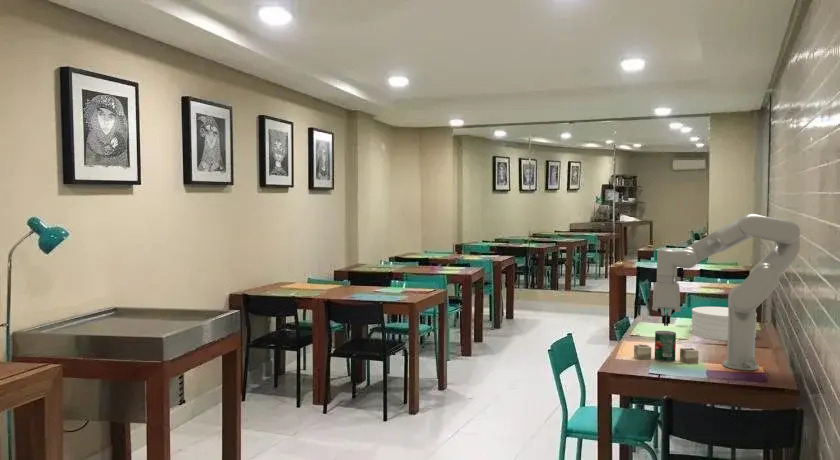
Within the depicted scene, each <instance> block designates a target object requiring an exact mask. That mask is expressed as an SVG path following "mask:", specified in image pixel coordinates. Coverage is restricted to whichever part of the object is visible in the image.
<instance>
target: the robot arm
mask: <svg viewBox="0 0 840 460" xmlns="http://www.w3.org/2000/svg"><path fill="white" fill-rule="evenodd" d="M800 235H801V228H800V226H799V224H797V223H796V222H795V221H792V220H788V219H781V218H778V217H777V218H775V217H771V216H764V215H761V214H757V213H747V214H745V215H743V216H741V217H738V218H737V219H734V220H733V221H731V222H729V223H728V224H726V225H724V226H723V227H720V228H718V229H717V230H715V231H713V232H711V233H710V234H708V235H707V236H705V237H703V238H701V239H699V240H696V241H695V242H693V243H692V244H689V245H688V246H686V247H685V248H682V249H675V248H659V249H658V250H657V252H656V254H657V256H656V282H654V285H653V292H652V293H653V294H652V311H656V312H658V313H659V314H660V316H661V324H663V326H664V327H665V326H667V327H669V324H671V316H672V315H673V314H674V313H677V312H681V310H682V309H681V307H680V306H681V291H680V284H679V283H678V282H679V281H681V280H682V277H681V276H678V268H681V269H692V268H694V267H695V266H696V265H697V264H698V263H699V262H702V261H703V260H705V259H707V258H709V257H711V256H713V255H715V254H718V253H723V252H727V251H729V250H730V249H732V248H734V247H736V246H738V245H740V244H742V243H744V242H746V241H748V240H749V239H752V238H755V239H760V240H765V241H769V242H774V244H773V246H772V247H771V249H770V250H769V251H768V252H767V253H766V254H765V256H764V257H762V258H761V260H760V261H759V262H757V264H756V265H755V266H753V267H752V268H751V270H750V271H749V275H748V276H747V277H746V278H745V279H744V280H743V281H742V282H741V283H740V284H737V285H735V286H733V287H732V288H731V289H730V290H729V292H728V296H727V301H728V302H727V303H728V305H727V306H728V341H727V344H726V345H727V346H726V347H727V348H726V350H727V351H726V352H727V353H726V359H725V360H722V365H723V367H726V368H729V369H732V370H738V371H739V370H740V371H757V370H759V369H760V365H759V363H758V362H756V357H755V354H756V352H755V351H756V339H755V335H756V333H755V329H756V328H757V317H756V314H757V308H758V307H759V306H760V305H761V304H762V303H763V302H764V301H765V300H766V299H767V298H768V297H769V296H770V295H771V294H772V293H773V292H774V290H776V289H777V288H778V285H779V284H780V276H782V275H783V273H784V272H786V270H787V269H788V268H789V266H791V265H792V264H793V262H794V261H795V260H796V258H797V257H798V254H799V252H800V248H801V247H800V246H801V238H800ZM665 309H668V310H667V313H665Z"/></svg>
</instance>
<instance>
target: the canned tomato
mask: <svg viewBox="0 0 840 460" xmlns="http://www.w3.org/2000/svg"><path fill="white" fill-rule="evenodd" d="M676 343H677V332H676V331H675V332H674V331H672V330H671V331H669V330H655V331H654V360H655V361H657V360H658V362H662V363H673V361H674V362H675V361H676V349H677V348H676V346H677V345H676Z"/></svg>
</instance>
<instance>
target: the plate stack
mask: <svg viewBox="0 0 840 460" xmlns="http://www.w3.org/2000/svg"><path fill="white" fill-rule="evenodd" d="M691 313H692V314H691V332H692V333H691V334H692V335H694V336H696V337H701V338H704V339H708V340H709V339H711V340H716V341H727V342H728V307H726V306H697V307H693V308H692V309H691ZM757 316H758V314H757V313H756V318H757ZM756 334H757V329H756V328H755V338H757V335H756Z"/></svg>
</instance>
